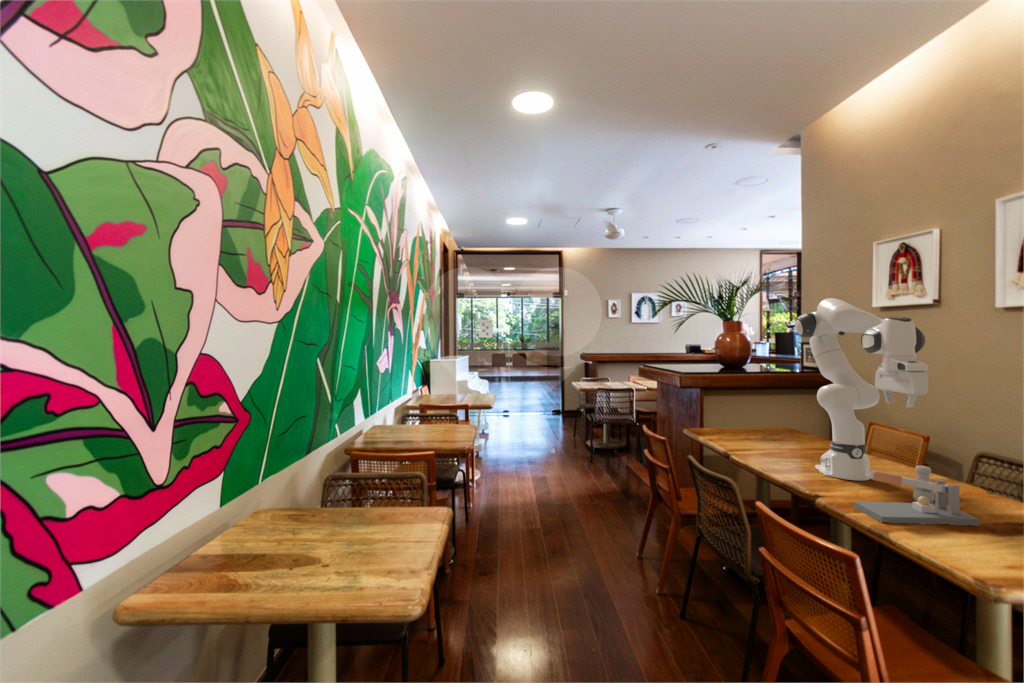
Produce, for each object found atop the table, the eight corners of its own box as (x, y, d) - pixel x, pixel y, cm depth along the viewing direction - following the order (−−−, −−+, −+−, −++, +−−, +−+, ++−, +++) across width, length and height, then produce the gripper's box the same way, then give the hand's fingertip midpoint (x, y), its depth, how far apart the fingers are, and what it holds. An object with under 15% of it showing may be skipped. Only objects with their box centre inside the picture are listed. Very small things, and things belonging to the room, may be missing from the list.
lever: (946, 494, 155) (948, 483, 155) (955, 498, 151) (957, 487, 151) (863, 478, 157) (865, 467, 157) (870, 481, 154) (872, 470, 154)
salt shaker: (926, 500, 168) (926, 464, 168) (939, 506, 163) (938, 468, 163) (908, 500, 169) (908, 464, 169) (920, 506, 163) (920, 468, 163)
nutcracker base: (943, 509, 160) (943, 477, 160) (980, 525, 146) (979, 490, 146) (854, 507, 163) (854, 475, 163) (881, 523, 149) (881, 487, 149)
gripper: (869, 363, 171) (869, 401, 171) (910, 366, 150) (911, 409, 150) (888, 363, 170) (888, 401, 170) (932, 366, 150) (933, 409, 150)
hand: (899, 405), depth 160 cm, fingers open, 8 cm apart
